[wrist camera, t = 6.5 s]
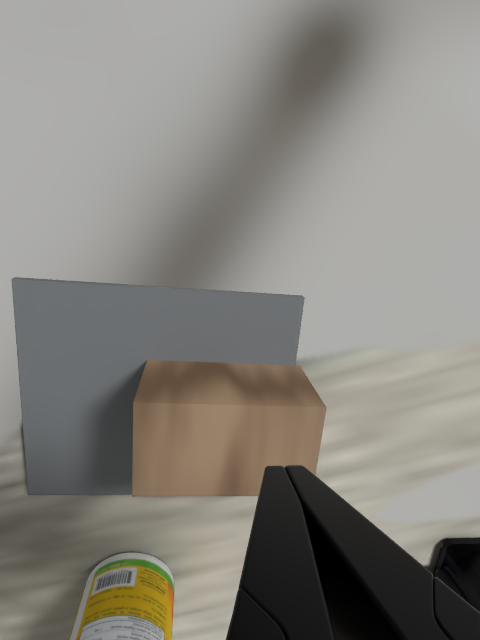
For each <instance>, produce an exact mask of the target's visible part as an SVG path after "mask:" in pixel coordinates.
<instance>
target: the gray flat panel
mask: <svg viewBox="0 0 480 640" xmlns="http://www.w3.org/2000/svg"><path fill="white" fill-rule="evenodd" d="M12 289H13V303H14V314H15V328H16V342H17V355H18V368H19V381H20V395H21V408H22V421H23V434H24V447H25V460H26V474H27V487H28V495H132V473H133V402H134V399H135V396H136V393H137V390H138V387H139V384H140V381H141V378H142V375H143V372H144V369H145V366H146V363H147V360H167V361H192V362H217V363H242V364H267V365H292V366H295V364H296V356H297V348H298V341H299V334H300V327H301V319H302V312H303V304H304V297H303V296H299V295H283V294H267V293H252V292H235V291H219V290H205V289H188V288H173V287H158V286H142V285H126V284H111V283H95V282H78V281H63V280H48V279H33V278H13V279H12Z"/></svg>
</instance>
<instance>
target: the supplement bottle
mask: <svg viewBox="0 0 480 640" xmlns="http://www.w3.org/2000/svg"><path fill="white" fill-rule="evenodd" d="M173 605H174V580H173V576H172V574H171V572H170V570H169V568H168V567H167V566H166V565H165V564H164V563H163V562H162V561H160V560H159V559H157V558H155V557H153V556H151V555H148V554H144V553H121V554H117V555H114V556H111V557H109V558H107V559H105V560H104V561H102V562H101V563H99V564H98V565H97V566H96V567H95V568H94V569H93V571H92V572H91V574H90V575H89V577H88V579H87V582H86V585H85V588H84V591H83V594H82V598H81V601H80V605H79V608H78V612H77V615H76V618H75V622H74V625H73V629H72V632H71V635H70V639H69V640H171V639H172V623H173Z"/></svg>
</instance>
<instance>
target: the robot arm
mask: <svg viewBox="0 0 480 640" xmlns="http://www.w3.org/2000/svg"><path fill="white" fill-rule="evenodd" d="M226 640H480V538H474V539H448V540H446V541H445V542H444V543H443V545H442V548H441V552H440V555H439V559H438V562H437V566H436V569H435V573H434V576H433V574H432V573H431V572H430V571H429V570H427V569H426V568H425V567H424V566H423V565H421V564H420V563H419V562H418V561H417V560H415V559H414V558H413V557H412V556H411V555H410V554H408V553H407V552H406V551H405V550H404V549H402V548H401V547H400V546H399V545H398V544H396V543H395V542H394V541H393V540H392V539H390V538H389V537H388V536H387V535H386V534H384V533H383V532H382V531H381V530H380V529H378V528H377V527H376V526H375V525H374V524H373V523H371V522H370V521H369V520H368V519H367V518H365V517H364V516H363V515H362V514H361V513H359V512H358V511H357V510H356V509H355V508H353V507H352V506H351V505H350V504H349V503H347V502H346V501H345V500H344V499H343V498H341V497H340V496H339V495H338V494H337V493H336V492H334V491H333V490H332V489H331V488H330V487H328V486H327V485H326V484H325V483H324V482H322V481H321V480H320V479H319V478H318V477H316V476H315V475H314V474H313V473H312V472H310V471H309V470H308V469H307V468H306V467H304V466H302V465H287V466H285V467H283V466H266V467H265V470H264V474H263V479H262V483H261V488H260V492H259V497H258V502H257V506H256V511H255V515H254V520H253V524H252V529H251V534H250V538H249V543H248V547H247V552H246V556H245V561H244V566H243V570H242V575H241V579H240V584H239V590H238V592H237V596H236V601H235V606H234V610H233V614H232V618H231V622H230V626H229V630H228V633H227V637H226Z"/></svg>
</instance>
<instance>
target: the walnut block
mask: <svg viewBox="0 0 480 640" xmlns="http://www.w3.org/2000/svg"><path fill="white" fill-rule="evenodd" d="M325 413H326V406H325V405H324V403H323V401H322V400H321V398H320V397H319V395H318V394H317V392H316V391H315V389H314V387H313V386H312V384H311V383H310V381H309V380H308V378H307V376H306V375H305V373H304V372H303V370H302V369H301V367H300V366H292V365H267V364H242V363H217V362H192V361H167V360H147V363H146V366H145V369H144V372H143V375H142V378H141V381H140V384H139V387H138V390H137V393H136V396H135V399H134V402H133V473H132V496H259V492H260V488H261V483H262V479H263V474H264V470H265V467H266V466H283V467H285V466H287V465H302V466H304V467H306V468H307V469H308V470H309V471H310V472H312V473H313V474H314V475H315V474H316V468H317V462H318V456H319V450H320V443H321V437H322V431H323V425H324V419H325Z"/></svg>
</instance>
